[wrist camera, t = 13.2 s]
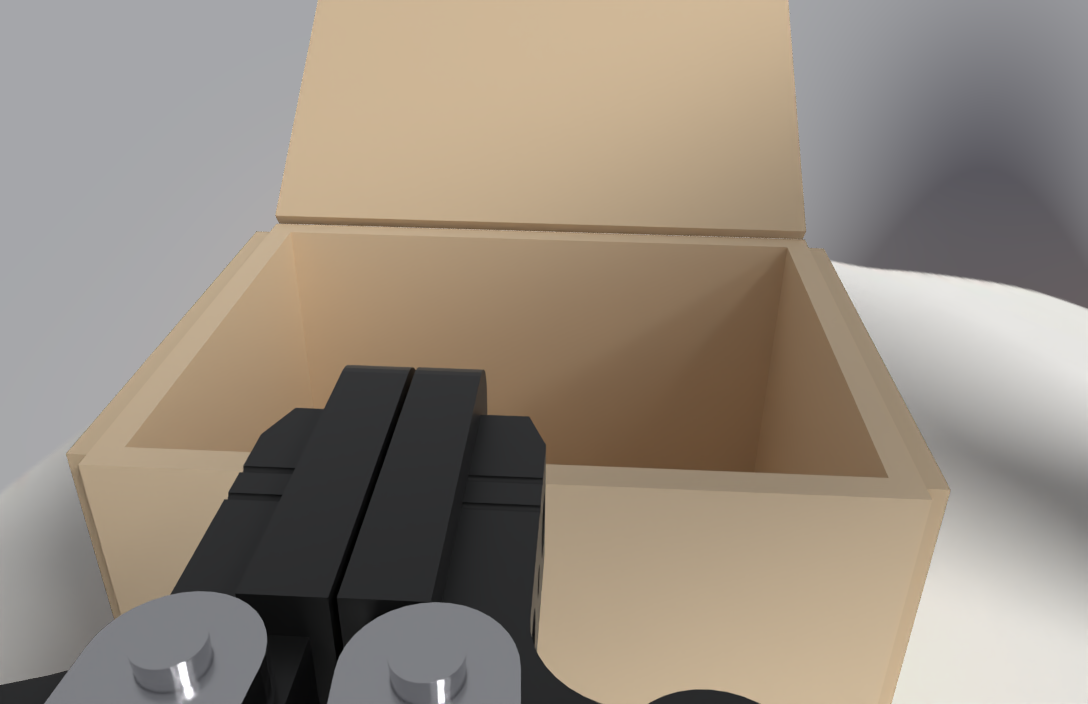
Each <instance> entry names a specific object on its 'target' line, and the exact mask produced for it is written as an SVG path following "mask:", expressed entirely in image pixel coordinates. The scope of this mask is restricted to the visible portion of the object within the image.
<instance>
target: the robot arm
mask: <svg viewBox="0 0 1088 704" xmlns="http://www.w3.org/2000/svg"><path fill="white" fill-rule="evenodd" d="M545 489H546V444H545V442H544V441H543V439H542V437H541V436H540V434H539V432H538V431H537V429H536V427H535V425H534V424H533V422H532V420H531V419H530V417H529V416H504V415H487V382H486V374H485V370H484V369H456V368H429V367H418V368H417V369H416V370H415V368H413V367H395V366H368V365H346V366H345V367H344V369H343V370H342V372H341V374H340V376H339V379H338V381H337V383H336V385H335V387H334V389H333V391H332V393H331V395H330V397H329V399H328V401H327V403H326V406H325V408H324V409H315V408H295V409H293V410H292V411H291V412H289V413H288V414H287V415H285V416H284V417H283V418H281V419H280V420H279V421H278V422H276V423H275V424H274V425H272V426H271V427H270V428H268V429H267V430H266V431H264V432H263V433H262V434H261V435H260V437H259V439H258V440H257V442H256V444H255V446H254V448H253V449H252V451H251V453H250V455H249V456H248V458H247V460H246V462H245V463H244V465H243V472H239V474H238V476H237V478H236V479H235V481H234V483H233V485H232V486H231V488H230V490H229V492H228V499H224V501H223V502H222V504H221V506H220V508H219V509H218V511H217V513H216V515H215V516H214V518H213V520H212V522H211V524H210V525H209V527H208V529H207V531H206V532H205V534H204V536H203V538H202V539H201V541H200V543H199V545H198V546H197V548H196V550H195V552H194V554H193V555H192V557H191V559H190V561H189V562H188V564H187V566H186V568H185V569H184V571H183V573H182V575H181V577H180V578H179V580H178V582H177V584H176V585H175V587H174V589H173V591H172V592H171V594H170V595H167V596H164V597H160V598H157V599H154V600H151V601H148V602H146V603H144V604H141V605H139V606H137V607H135V608H133V609H131V610H129V611H127V612H126V613H124V614H122V615H120V616H119V617H118V618H116V619H115V620H113V621H112V622H110V623H109V624H108V625H107V626H105V627H104V628H103V629H102V630H101V631H100V632H99V633H98V634H97V635H96V636H95V637H94V638H93V639H92V640H91V641H90V643H89V644H88V645H87V646H86V647H85V649H84V650H83V651H82V653H81V654H80V656H79V657H78V658H77V660H76V661H75V662H74V664H73V665H72V666H71V668H70V669H69V670H68V671H64V672H60V673H56V674H52V675H48V676H43V677H38V678H33V679H28V680H23V681H19V682H14V683H9V684H4V685H0V704H602V703H599V702H596V701H594V700H592V699H589V698H587V697H584V696H582V695H581V694H579V693H577V692H576V691H574V690H572V689H570V688H569V687H568V686H566V685H565V684H564V683H562V682H561V681H560V680H559V679H557V678H556V677H555V676H554V675H553V674H552V673H551V671H550V670H549V669H548V668H547V667H546V666H545V664H544V663H543V661H542V660H541V658H540V657H539V655H538V653H537V645H538V632H539V619H540V607H541V591H542V581H543V569H544V556H545ZM649 704H760V703H758V702H755V701H753V700H751V699H748V698H746V697H743V696H740V695H736V694H733V693H729V692H724V691H717V690H709V689H693V690H686V691H679V692H675V693H672V694H668V695H665V696H662V697H660V698H658V699H656V700H654V701H652V702H650V703H649Z"/></svg>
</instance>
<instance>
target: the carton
mask: <svg viewBox="0 0 1088 704" xmlns="http://www.w3.org/2000/svg"><path fill="white" fill-rule="evenodd" d="M346 365H368V366H395V367H413V368H415V370H416V369H417V368H418V367H429V368H456V369H484V370H485V374H486V382H487V415H504V416H529V417H530V419H531V420H532V422H533V424H534V425H535V427H536V429H537V431H538V432H539V434H540V436H541V437H542V439H543V441H544V442H545V444H546V489H545V556H544V569H543V581H542V591H541V607H540V619H539V632H538V645H537V653H538V655H539V657H540V658H541V660H542V661H543V663H544V664H545V666H546V667H547V668H548V669H549V670H550V671H551V673H552V674H553V675H554V676H555V677H556V678H557V679H559V680H560V681H561V682H562V683H564V684H565V685H566V686H568V687H569V688H570V689H572V690H574V691H576V692H577V693H579V694H581V695H582V696H584V697H587V698H589V699H592V700H594V701H596V702H599V703H602V704H649V703H650V702H652V701H654V700H656V699H658V698H660V697H662V696H665V695H668V694H672V693H675V692H679V691H686V690H693V689H709V690H717V691H724V692H729V693H733V694H736V695H740V696H743V697H746V698H748V699H751V700H753V701H755V702H758V703H760V704H891V703H892V699H893V696H894V692H895V689H896V685H897V681H898V678H899V674H900V671H901V667H902V663H903V660H904V656H905V653H906V649H907V645H908V642H909V638H910V634H911V631H912V627H913V624H914V620H915V616H916V613H917V609H918V606H919V602H920V598H921V595H922V591H923V588H924V584H925V580H926V577H927V573H928V570H929V566H930V562H931V559H932V555H933V551H934V548H935V544H936V541H937V537H938V533H939V530H940V526H941V523H942V519H943V515H944V512H945V508H946V505H947V501H948V497H949V494H950V488H949V486H948V484H947V482H946V480H945V479H944V477H943V475H942V473H941V471H940V469H939V467H938V465H937V463H936V461H935V459H934V458H933V456H932V454H931V452H930V450H929V448H928V446H927V444H926V442H925V440H924V439H923V437H922V435H921V433H920V431H919V429H918V427H917V425H916V423H915V421H914V419H913V418H912V416H911V414H910V412H909V410H908V408H907V406H906V404H905V402H904V400H903V398H902V397H901V395H900V393H899V391H898V389H897V387H896V385H895V383H894V381H893V379H892V378H891V376H890V374H889V372H888V370H887V368H886V366H885V364H884V362H883V360H882V358H881V357H880V355H879V353H878V351H877V349H876V347H875V345H874V343H873V341H872V339H871V338H870V336H869V334H868V332H867V330H866V328H865V326H864V324H863V322H862V320H861V318H860V317H859V315H858V313H857V311H856V309H855V307H854V305H853V303H852V301H851V299H850V298H849V296H848V294H847V292H846V290H845V288H844V286H843V284H842V282H841V280H840V278H839V277H838V275H837V273H836V271H835V269H834V267H833V265H832V263H831V261H830V259H829V258H828V256H827V254H826V252H825V250H824V249H818V248H809V247H808V245H807V243H806V241H805V240H803V239H769V238H735V237H702V236H668V235H635V234H601V233H568V232H534V231H501V230H467V229H434V228H400V227H366V226H333V225H299V224H276V225H275V226H274V228H273V229H272V230H271V231H270V232H256V233H255V234H254V235H253V236H252V238H251V239H250V240H249V241H248V242H247V243H246V244H245V246H244V247H243V248H242V249H241V250H240V251H239V253H238V254H237V255H236V256H235V257H234V259H233V260H232V261H231V262H230V263H229V264H228V265H227V267H226V268H225V269H224V270H223V271H222V272H221V274H220V275H219V276H218V277H217V278H216V279H215V281H214V282H213V283H212V284H211V285H210V286H209V288H208V289H207V290H206V291H205V292H204V293H203V295H202V296H201V297H200V298H199V299H198V301H197V302H196V303H195V304H194V305H193V306H192V307H191V309H190V310H189V311H188V312H187V313H186V314H185V316H184V317H183V318H182V319H181V320H180V321H179V323H178V324H177V325H176V326H175V327H174V328H173V330H172V331H171V332H170V333H169V334H168V336H167V337H166V338H165V339H164V340H163V341H162V343H161V344H160V345H159V346H158V347H157V348H156V349H155V351H154V352H153V353H152V354H151V355H150V356H149V358H148V359H147V360H146V361H145V362H144V364H143V365H142V366H141V367H140V368H139V369H138V370H137V372H136V373H135V374H134V375H133V376H132V378H131V379H130V380H129V381H128V382H127V383H126V384H125V386H124V387H123V388H122V389H121V390H120V391H119V393H118V394H117V395H116V396H115V397H114V399H113V400H112V401H111V402H110V403H109V404H108V405H107V407H106V408H105V409H104V410H103V411H102V412H101V414H100V415H99V416H98V417H97V418H96V419H95V421H94V422H93V423H92V424H91V425H90V426H89V428H88V429H87V430H86V431H85V432H84V433H83V435H82V436H81V437H80V438H79V439H78V440H77V442H76V443H75V444H74V445H73V446H72V447H71V449H70V450H69V451H68V452H67V453H66V456H67V459H68V463H69V466H70V469H71V473H72V476H73V480H74V483H75V487H76V490H77V493H78V497H79V500H80V504H81V507H82V510H83V514H84V517H85V521H86V524H87V528H88V531H89V534H90V538H91V541H92V545H93V548H94V552H95V555H96V558H97V562H98V565H99V569H100V572H101V575H102V579H103V582H104V586H105V589H106V593H107V596H108V599H109V603H110V606H111V610H112V613H113V617H114V620H115V619H116V618H118V617H119V616H120V615H122V614H124V613H126V612H127V611H129V610H131V609H133V608H135V607H137V606H139V605H141V604H144V603H146V602H148V601H151V600H154V599H157V598H160V597H164V596H167V595H170V594H171V592H172V591H173V589H174V587H175V585H176V584H177V582H178V580H179V578H180V577H181V575H182V573H183V571H184V569H185V568H186V566H187V564H188V562H189V561H190V559H191V557H192V555H193V554H194V552H195V550H196V548H197V546H198V545H199V543H200V541H201V539H202V538H203V536H204V534H205V532H206V531H207V529H208V527H209V525H210V524H211V522H212V520H213V518H214V516H215V515H216V513H217V511H218V509H219V508H220V506H221V504H222V502H223V501H224V499H228V492H229V490H230V488H231V486H232V485H233V483H234V481H235V479H236V478H237V476H238V474H239V472H243V465H244V463H245V462H246V460H247V458H248V456H249V455H250V453H251V451H252V449H253V448H254V446H255V444H256V442H257V440H258V439H259V437H260V435H261V434H262V433H263V432H264V431H266V430H267V429H268V428H270V427H271V426H272V425H274V424H275V423H276V422H278V421H279V420H280V419H281V418H283V417H284V416H285V415H287V414H288V413H289V412H291V411H292V410H293V409H295V408H315V409H324V408H325V406H326V403H327V401H328V399H329V397H330V395H331V393H332V391H333V389H334V387H335V385H336V383H337V381H338V379H339V376H340V374H341V372H342V370H343V369H344V367H345V366H346Z"/></svg>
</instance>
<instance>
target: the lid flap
mask: <svg viewBox="0 0 1088 704" xmlns="http://www.w3.org/2000/svg"><path fill="white" fill-rule="evenodd" d="M276 218H277V220H278V222H279V223H280V224H314V225H348V226H381V227H415V228H448V229H482V230H515V231H549V232H583V233H616V234H650V235H683V236H717V237H750V238H784V239H803V237H804V234H805V232H806V226H805V212H804V200H803V186H802V173H801V160H800V147H799V135H798V121H797V109H796V96H795V82H794V69H793V57H792V43H791V30H790V17H789V5H788V0H318V3H317V8H316V13H315V18H314V24H313V29H312V34H311V39H310V44H309V49H308V54H307V59H306V64H305V69H304V74H303V79H302V84H301V89H300V94H299V99H298V104H297V109H296V114H295V119H294V124H293V129H292V134H291V140H290V144H289V150H288V154H287V160H286V165H285V170H284V175H283V180H282V185H281V190H280V195H279V200H278V205H277V210H276Z"/></svg>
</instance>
